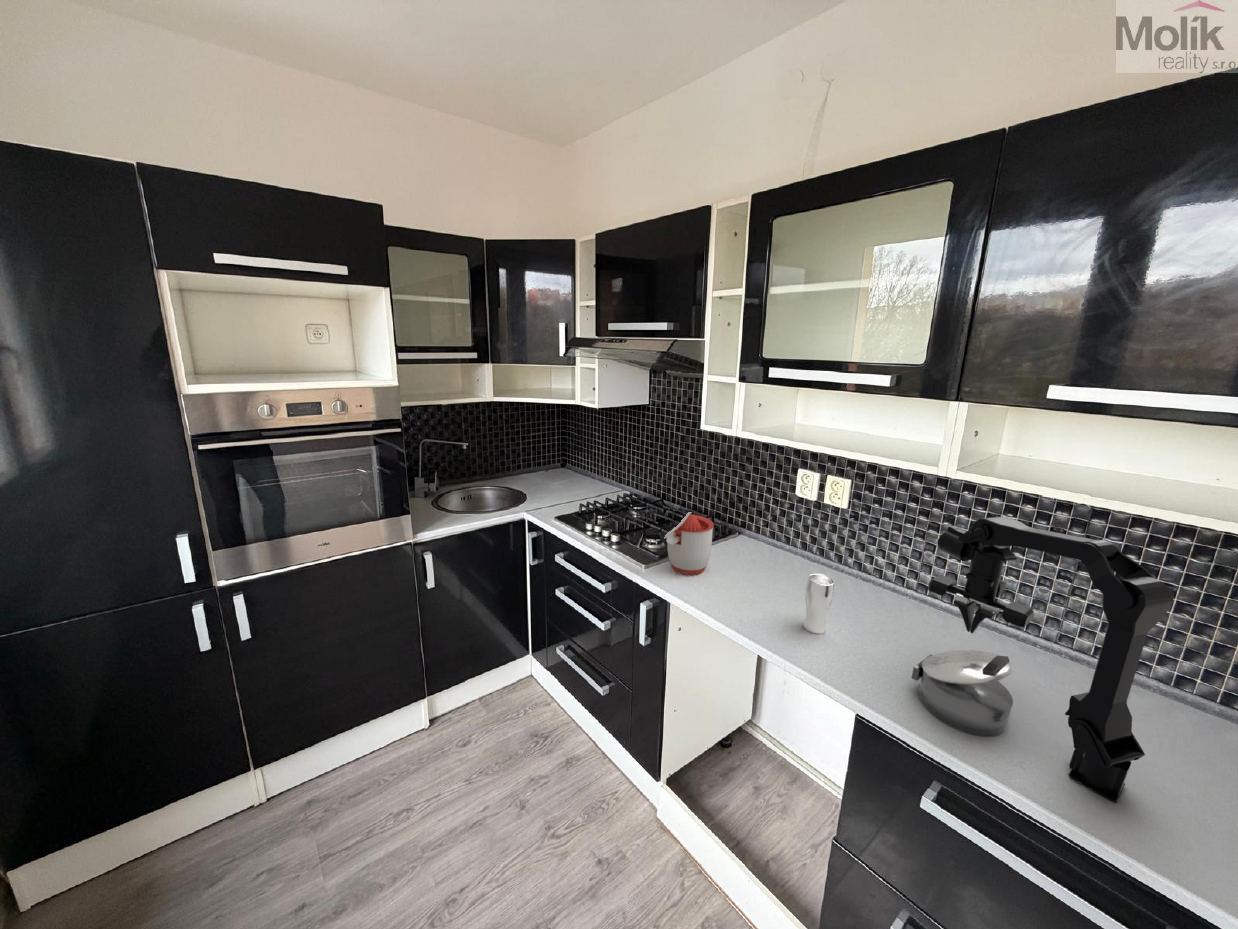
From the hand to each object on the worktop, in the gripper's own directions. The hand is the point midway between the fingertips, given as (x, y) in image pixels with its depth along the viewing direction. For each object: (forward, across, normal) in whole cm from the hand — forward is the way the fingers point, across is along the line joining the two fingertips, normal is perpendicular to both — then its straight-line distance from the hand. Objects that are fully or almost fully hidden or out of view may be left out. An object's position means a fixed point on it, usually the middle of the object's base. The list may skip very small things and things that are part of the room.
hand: (970, 631), depth 111 cm
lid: (+4, -3, +10) cm, 11 cm away
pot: (+13, -4, +10) cm, 17 cm away
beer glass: (+13, +32, +10) cm, 36 cm away
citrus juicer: (+13, +78, +16) cm, 81 cm away
